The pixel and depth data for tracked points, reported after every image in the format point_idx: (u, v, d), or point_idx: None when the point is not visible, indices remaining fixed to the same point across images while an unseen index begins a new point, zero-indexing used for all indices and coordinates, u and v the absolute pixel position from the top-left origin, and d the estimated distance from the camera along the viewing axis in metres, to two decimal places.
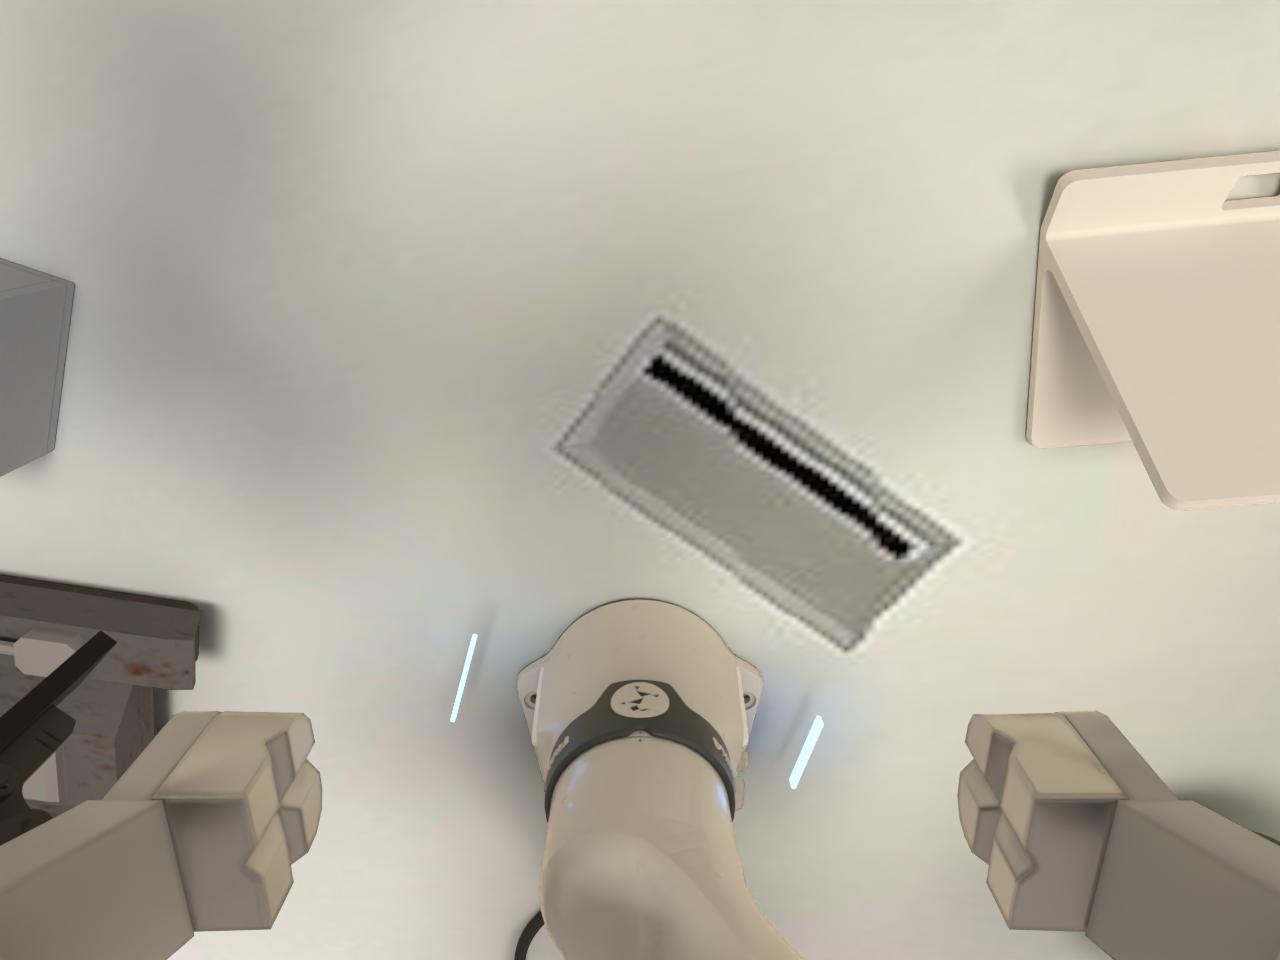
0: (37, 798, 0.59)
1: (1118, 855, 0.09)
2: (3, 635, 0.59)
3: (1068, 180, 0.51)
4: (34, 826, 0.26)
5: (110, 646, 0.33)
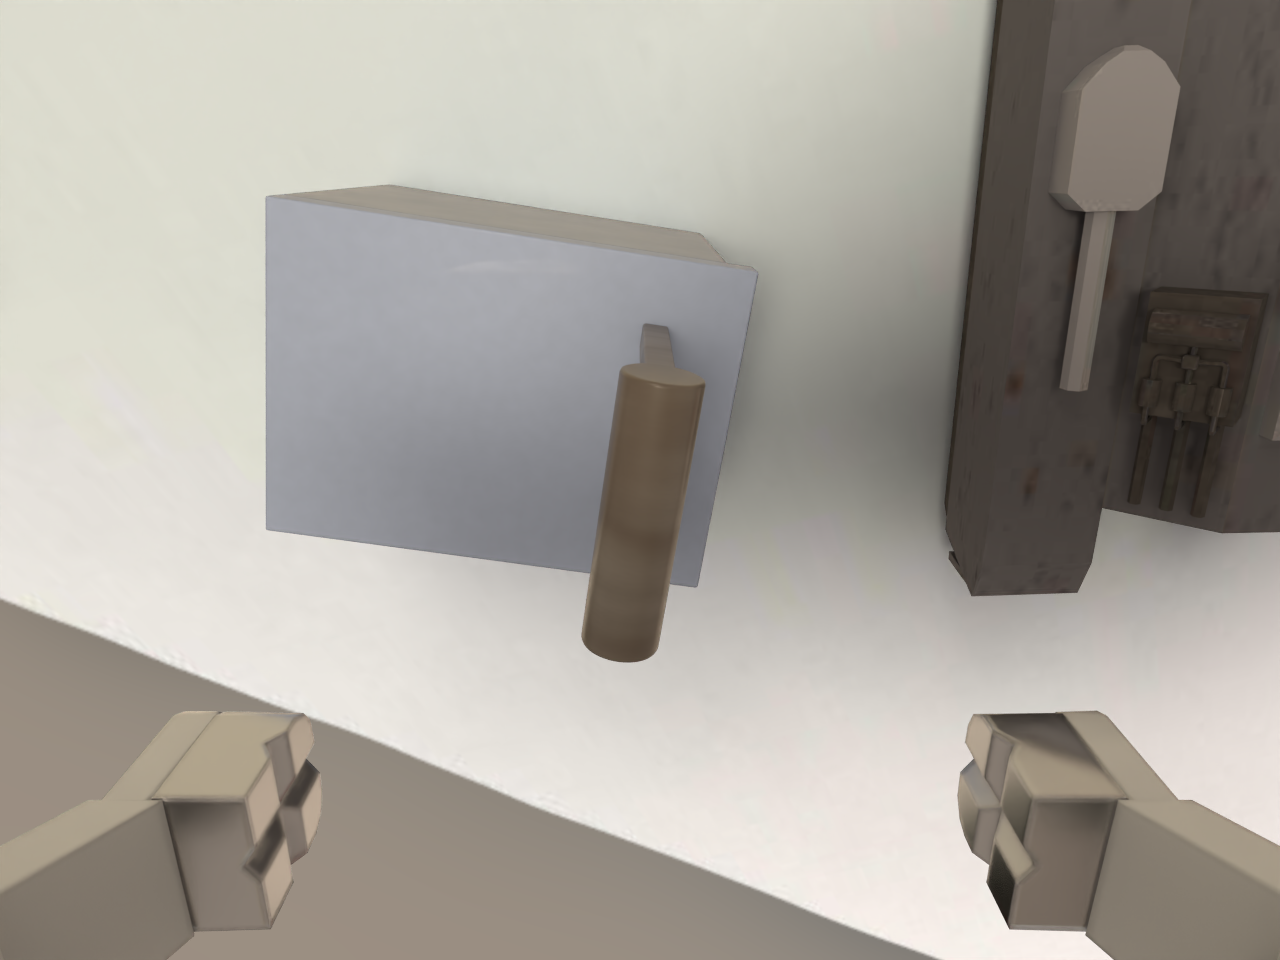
0: None
1: (1118, 855, 0.09)
2: (1069, 258, 0.28)
3: None
4: None
5: None
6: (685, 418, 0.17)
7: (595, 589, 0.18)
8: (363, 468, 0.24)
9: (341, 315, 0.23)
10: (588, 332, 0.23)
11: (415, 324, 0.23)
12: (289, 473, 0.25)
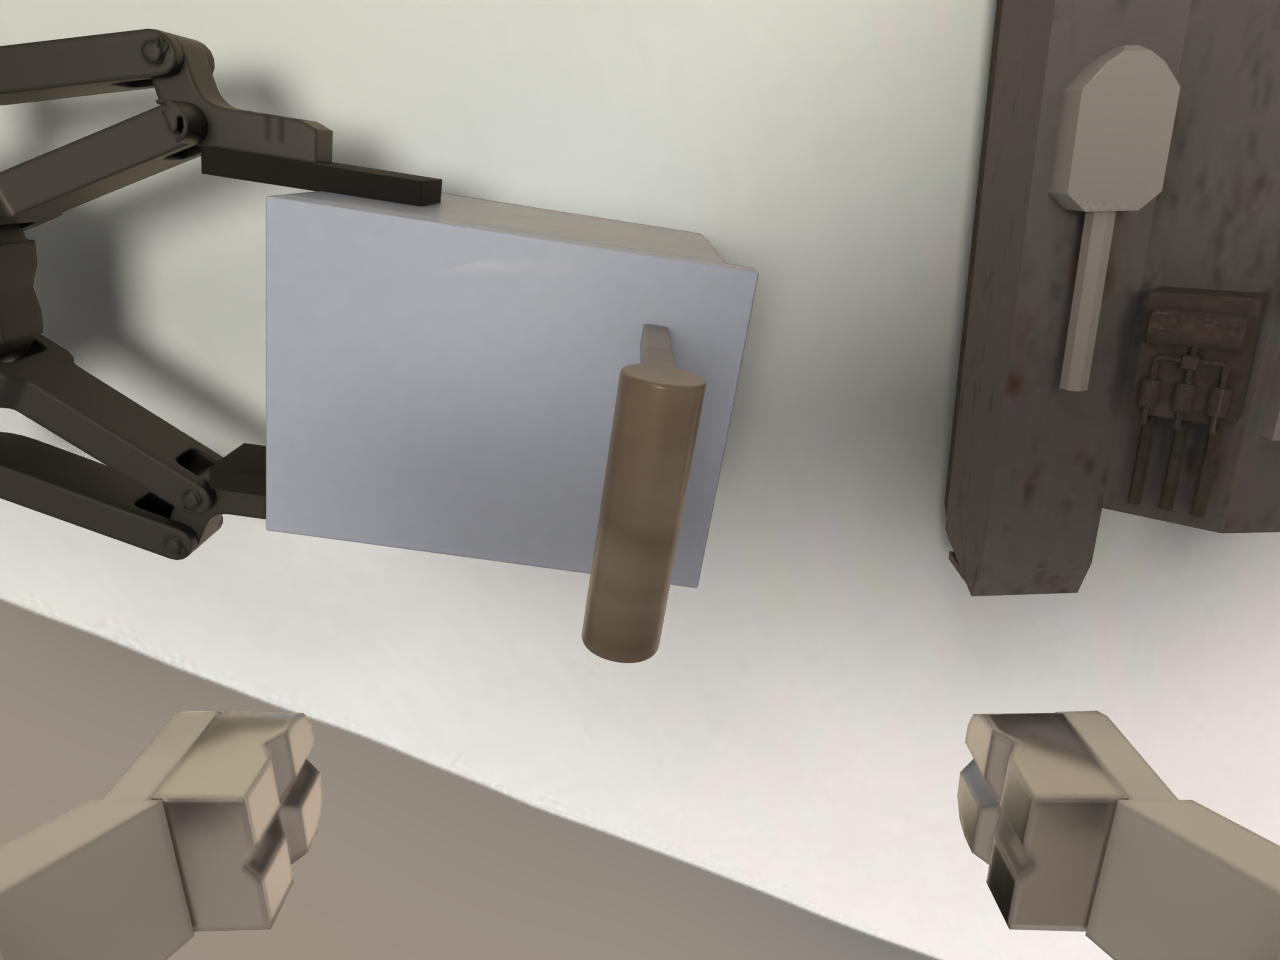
0: None
1: (1118, 855, 0.09)
2: (1069, 258, 0.28)
3: None
4: (168, 545, 0.30)
5: None
6: (686, 419, 0.17)
7: (595, 590, 0.18)
8: (363, 468, 0.24)
9: (341, 315, 0.23)
10: (588, 332, 0.23)
11: (415, 324, 0.23)
12: (289, 473, 0.25)
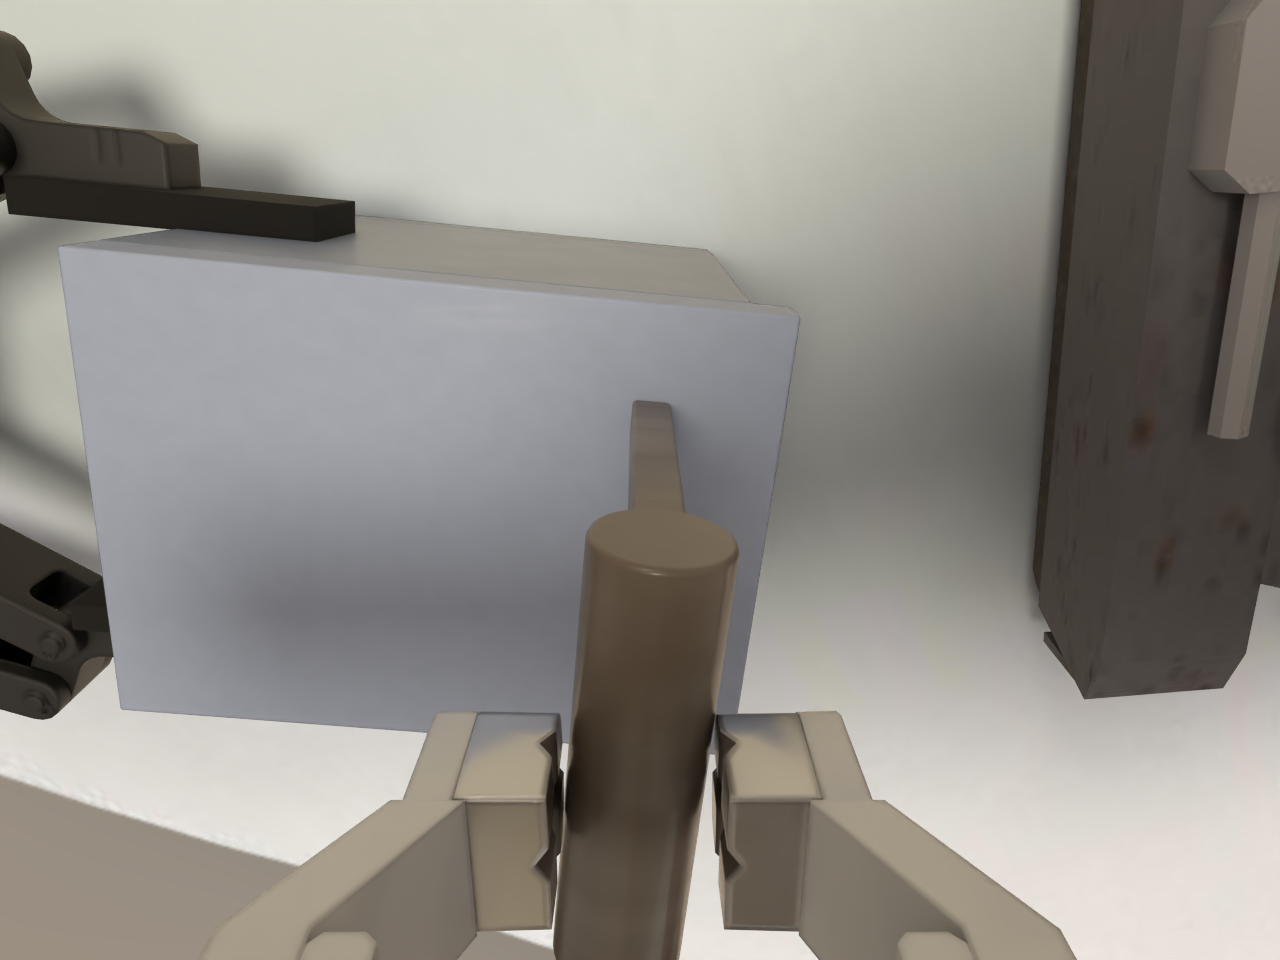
0: None
1: (814, 855, 0.09)
2: (1218, 258, 0.21)
3: None
4: (27, 704, 0.23)
5: None
6: (706, 621, 0.09)
7: (568, 887, 0.11)
8: (247, 621, 0.17)
9: (190, 412, 0.16)
10: (553, 417, 0.16)
11: (299, 419, 0.16)
12: (143, 633, 0.17)
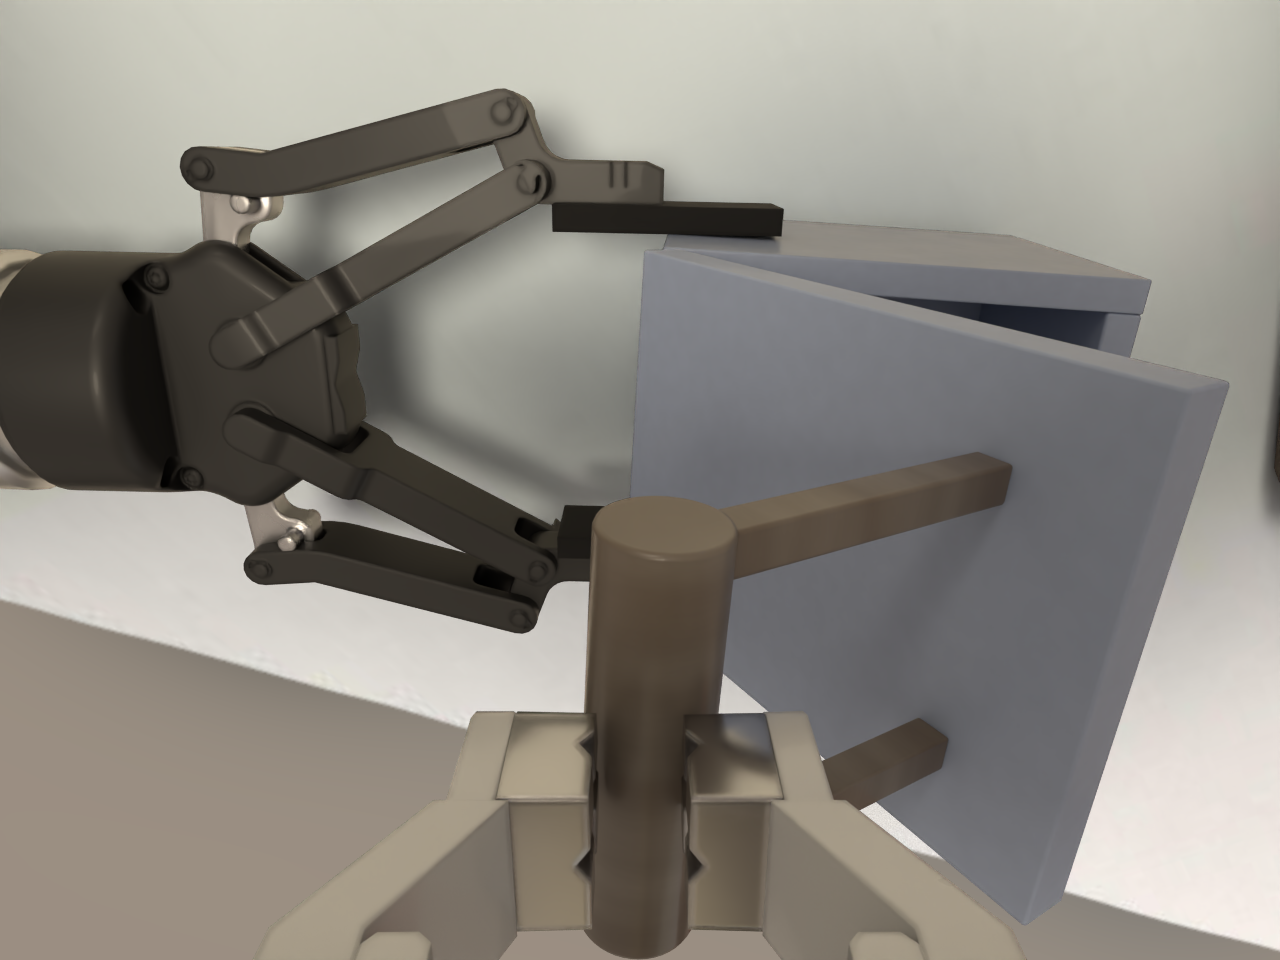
0: None
1: (776, 855, 0.09)
2: None
3: None
4: (514, 620, 0.29)
5: None
6: (636, 603, 0.10)
7: None
8: None
9: (683, 382, 0.20)
10: (903, 449, 0.15)
11: (735, 403, 0.19)
12: None
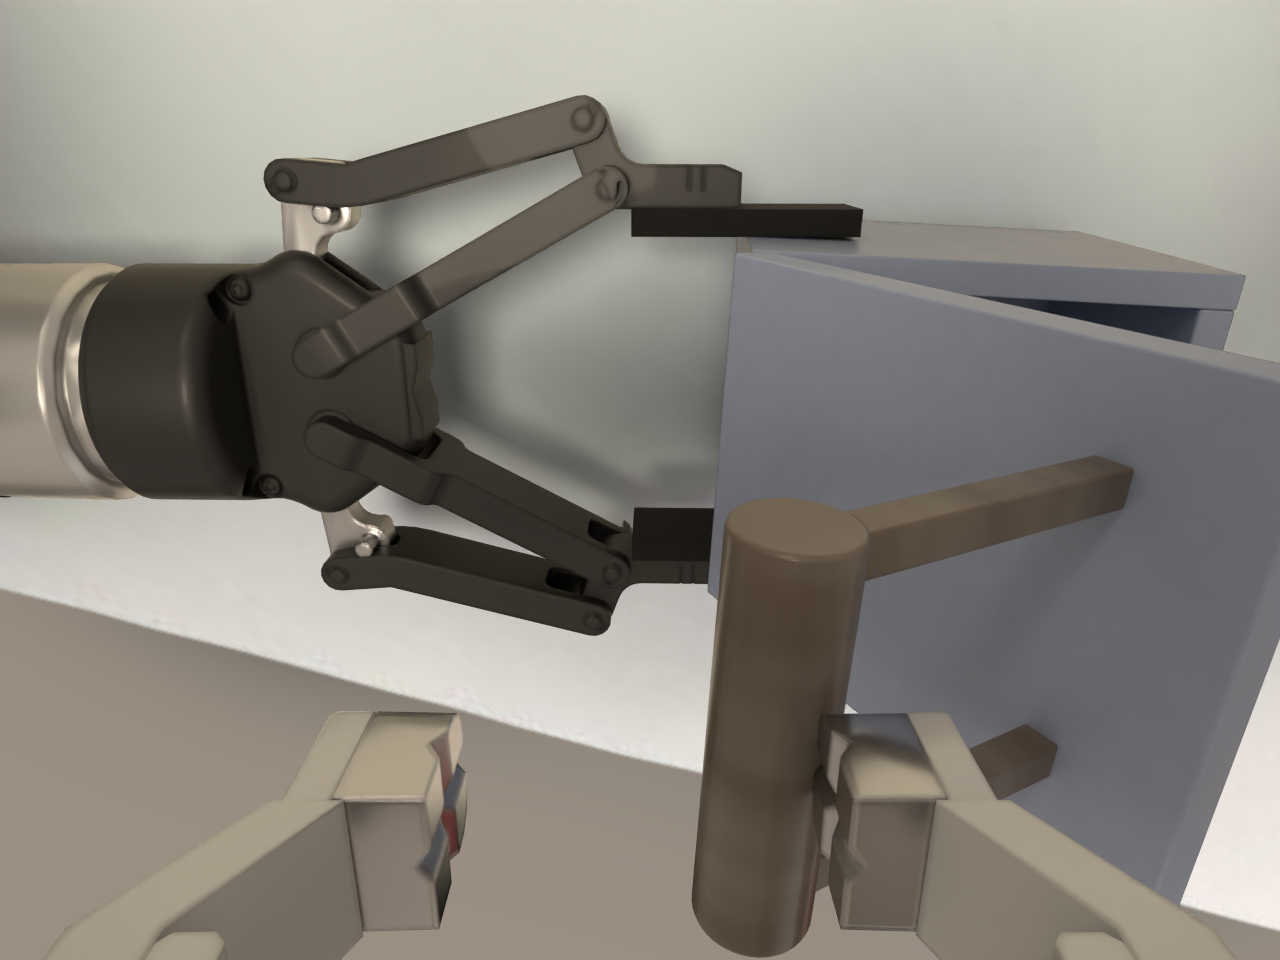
0: None
1: (938, 855, 0.09)
2: None
3: None
4: (588, 623, 0.29)
5: None
6: (772, 604, 0.10)
7: None
8: None
9: (774, 384, 0.20)
10: (1013, 453, 0.15)
11: (830, 405, 0.19)
12: None
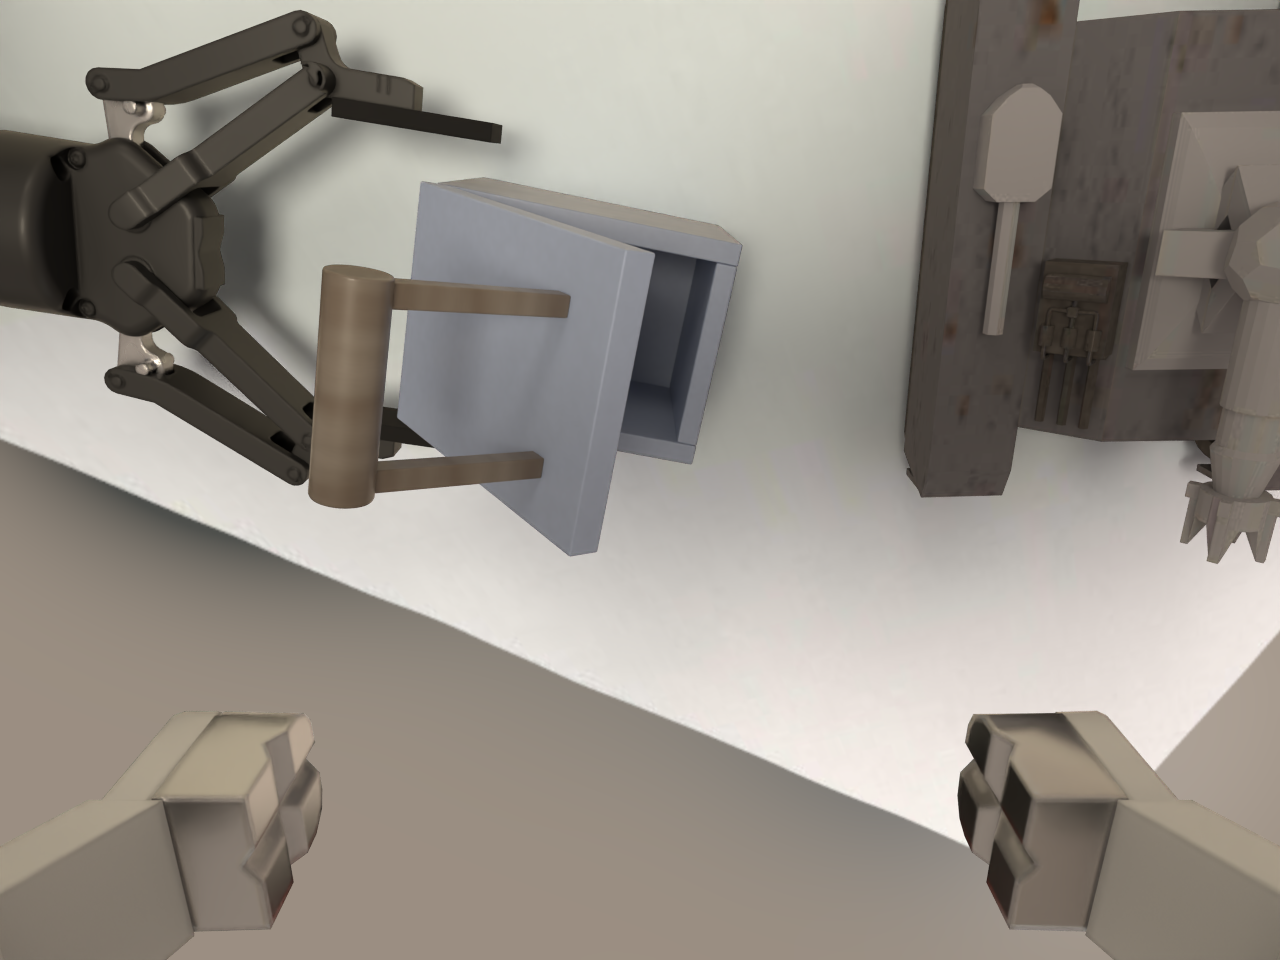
0: None
1: (1118, 855, 0.09)
2: (989, 237, 0.39)
3: None
4: (290, 474, 0.40)
5: None
6: (337, 300, 0.21)
7: None
8: (432, 383, 0.33)
9: (436, 266, 0.32)
10: None
11: (461, 277, 0.30)
12: (408, 378, 0.34)
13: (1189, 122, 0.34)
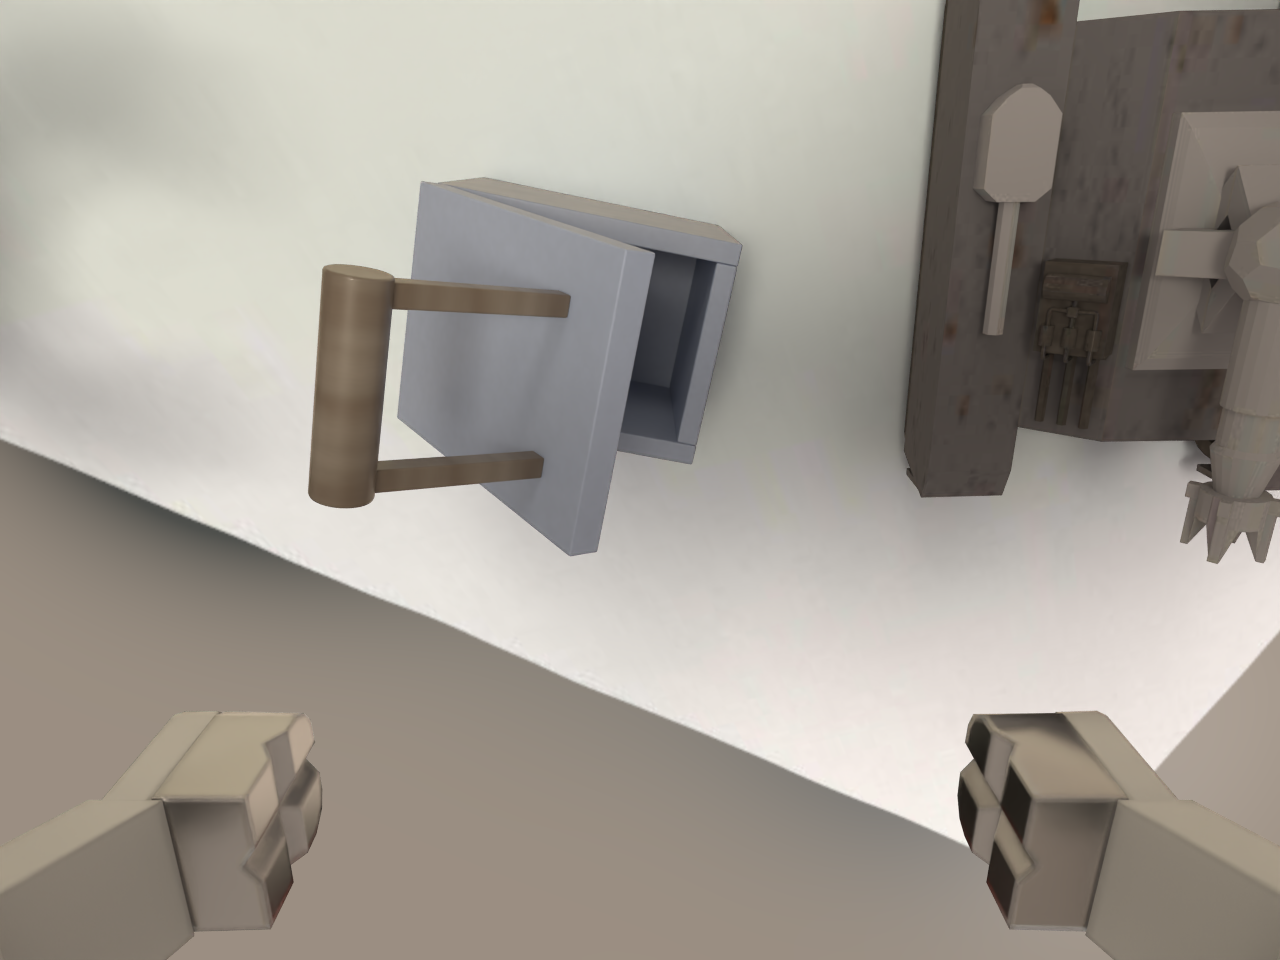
0: None
1: (1118, 855, 0.09)
2: (989, 237, 0.39)
3: None
4: None
5: None
6: (337, 300, 0.21)
7: None
8: (432, 383, 0.33)
9: (436, 266, 0.32)
10: None
11: (461, 277, 0.30)
12: (408, 378, 0.34)
13: (1189, 122, 0.34)
